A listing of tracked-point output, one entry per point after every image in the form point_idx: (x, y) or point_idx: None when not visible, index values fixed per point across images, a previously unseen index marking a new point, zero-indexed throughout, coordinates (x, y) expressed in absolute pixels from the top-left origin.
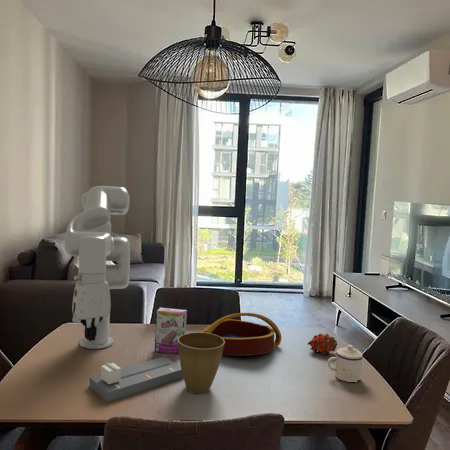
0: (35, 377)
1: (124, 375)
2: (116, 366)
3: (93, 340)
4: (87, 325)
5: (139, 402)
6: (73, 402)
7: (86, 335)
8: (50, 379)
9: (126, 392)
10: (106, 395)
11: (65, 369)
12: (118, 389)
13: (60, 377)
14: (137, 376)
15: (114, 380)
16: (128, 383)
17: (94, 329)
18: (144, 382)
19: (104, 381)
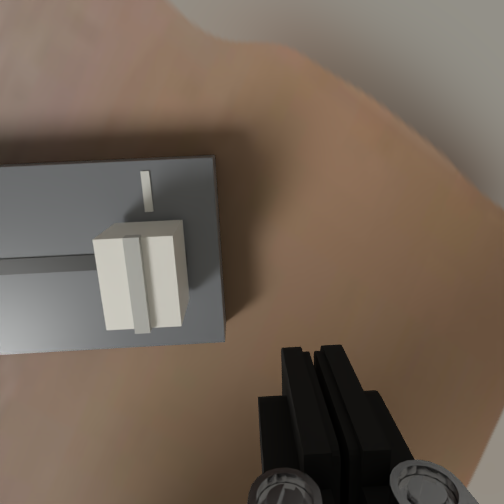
0: None
1: (71, 278)
2: (107, 275)
3: (298, 349)
4: (463, 499)
5: (89, 68)
6: (332, 234)
7: (382, 411)
8: None
9: (115, 160)
10: (214, 170)
11: None
12: (154, 160)
13: None
14: (13, 234)
15: (147, 223)
16: (85, 188)
17: (318, 427)
18: (2, 166)
19: None
